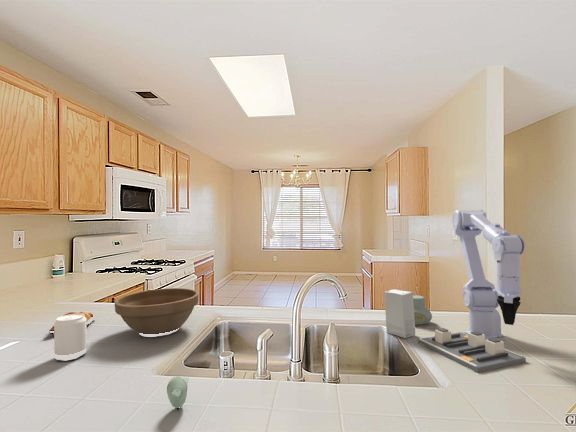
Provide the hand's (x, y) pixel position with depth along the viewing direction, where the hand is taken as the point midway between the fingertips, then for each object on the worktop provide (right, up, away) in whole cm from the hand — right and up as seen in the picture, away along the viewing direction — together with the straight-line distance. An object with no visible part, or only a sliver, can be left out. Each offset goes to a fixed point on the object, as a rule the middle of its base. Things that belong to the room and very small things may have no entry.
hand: (509, 322), depth 97 cm
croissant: (-146, -12, +29) cm, 149 cm away
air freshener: (-15, -10, +31) cm, 36 cm away
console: (-11, -10, +3) cm, 15 cm away
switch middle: (-8, -8, +4) cm, 12 cm away
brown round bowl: (-113, -11, +24) cm, 116 cm away
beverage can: (-130, -11, +2) cm, 131 cm away
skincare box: (-26, -10, +18) cm, 33 cm away
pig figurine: (-89, -11, -26) cm, 93 cm away
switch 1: (-16, -8, +7) cm, 19 cm away
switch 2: (-6, -8, -2) cm, 10 cm away
